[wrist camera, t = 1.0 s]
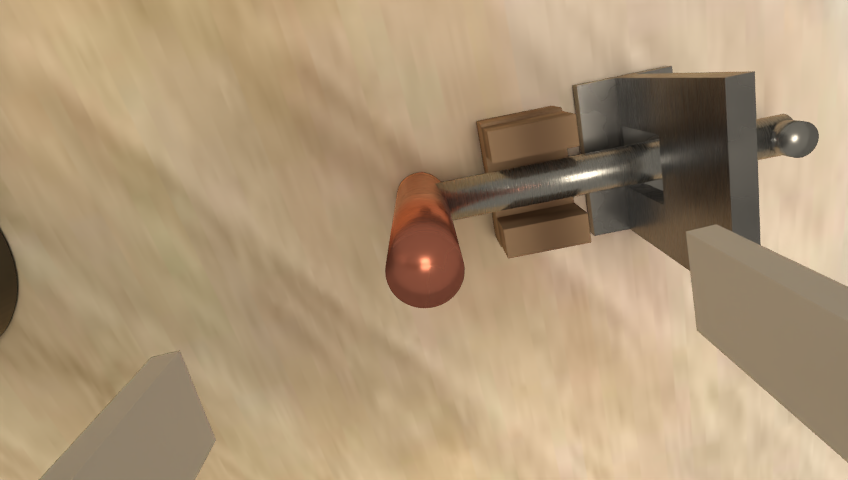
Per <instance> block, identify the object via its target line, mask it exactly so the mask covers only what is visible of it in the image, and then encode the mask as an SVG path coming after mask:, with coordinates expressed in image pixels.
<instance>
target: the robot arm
mask: <svg viewBox="0 0 848 480" xmlns="http://www.w3.org/2000/svg"><path fill="white" fill-rule="evenodd" d="M686 237H687V246H688V255H689V264H690V273H691V282H692V291H693V300H694V309H695V318H696V327H697V331H698V332H699V333H701V334H702V335H703V336H704V337H705V338H706V339H707V340H709V341H710V342H711V343H712V344H713V345H714V346H715V347H716V348H718V349H719V350H720V351H721V352H722V353H723V354H724V355H726V356H727V357H728V358H729V359H730V360H731V361H732V362H734V363H735V364H736V365H737V366H738V367H739V368H740V369H742V370H743V371H744V372H745V373H746V374H747V375H748V376H750V377H751V378H752V379H753V380H754V381H755V382H756V383H758V384H759V385H760V386H761V387H762V388H763V389H764V390H766V391H767V392H768V393H769V394H770V395H771V396H772V397H774V398H775V399H776V400H777V401H778V402H779V403H780V404H782V405H783V406H784V407H785V408H786V409H787V410H788V411H790V412H791V413H792V414H793V415H794V416H795V417H796V418H798V419H799V420H800V421H801V422H802V423H803V424H804V425H806V426H807V427H808V428H809V429H810V430H811V431H812V432H814V433H815V434H816V435H817V436H818V437H819V438H820V439H822V440H823V441H824V442H825V443H826V444H827V445H828V446H830V447H831V448H832V449H833V450H834V451H835V452H836V453H838V454H839V455H840V456H841V457H842V458H843V459H844V460H845V461H847V462H848V287H847V286H845V285H843V284H841V283H839V282H837V281H835V280H832V279H830V278H828V277H826V276H824V275H822V274H820V273H818V272H816V271H814V270H811V269H809V268H807V267H805V266H803V265H801V264H799V263H797V262H795V261H793V260H790V259H788V258H786V257H784V256H782V255H780V254H778V253H776V252H774V251H772V250H769V249H767V248H765V247H763V246H761V245H759V244H757V243H755V242H753V241H751V240H748V239H746V238H744V237H742V236H740V235H738V234H736V233H734V232H732V231H730V230H727V229H725V228H723V227H721V226H719V225H717V224H716V225H711V226H707V227H703V228H699V229H694V230H690V231H686ZM16 296H17V278H16V271H15V266H14V262H13V259H12V256H11V253H10V250H9V248H8V245H7V243H6V241H5V239H4V237H3V235H2V234H1V232H0V336H1V335H2V333H3V332H4V330H5V329H6V327H7V325H8V323H9V322H10V319H11V317H12V314H13V311H14V308H15V303H16ZM215 441H216V439H215V436H214V434H213V431H212V429H211V426H210V424H209V421H208V419H207V417H206V414H205V412H204V409H203V407H202V404H201V402H200V399H199V397H198V394H197V392H196V389H195V387H194V384H193V382H192V379H191V377H190V375H189V372H188V370H187V367H186V365H185V362H184V360H183V357H182V355H181V352H180V351H176V352H171V353H167V354H163V355H159V356H154V357H151V358H150V359H149V360H148V361H147V363H146V364H145V365H144V366H143V367H142V368H141V369H140V370H139V371H138V372H137V373H136V375H135V376H134V377H133V378H132V379H131V380H130V381H129V382H128V383H127V384H126V385H125V387H124V388H123V389H122V390H121V391H120V392H119V393H118V394H117V395H116V396H115V397H114V398H113V400H112V401H111V402H110V403H109V404H108V405H107V406H106V407H105V408H104V409H103V410H102V412H101V413H100V414H99V415H98V416H97V417H96V418H95V419H94V420H93V421H92V422H91V424H90V425H89V426H88V427H87V428H86V429H85V430H84V431H83V432H82V433H81V434H80V436H79V437H78V438H77V439H76V440H75V441H74V442H73V443H72V444H71V445H70V446H69V448H68V449H67V450H66V451H65V452H64V453H63V454H62V455H61V456H60V457H59V458H58V460H57V461H56V462H55V463H54V464H53V465H52V466H51V467H50V468H49V469H48V470H47V472H46V473H45V474H44V475H43V476H42V477H41V478H40V479H39V480H195V479H196V477H197V475H198V473H199V471H200V469H201V467H202V465H203V463H204V462H205V460H206V458H207V456H208V454H209V452H210V450H211V448H212V446H213V445H214V443H215Z"/></svg>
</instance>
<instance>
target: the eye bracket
mask: <svg viewBox="0 0 848 480" xmlns="http://www.w3.org/2000/svg"><path fill="white" fill-rule="evenodd" d="M573 93H574V101H575V110H576V118H577V126H578V135H579V143H580V151H581V154H585V153H590V152H595V151H600V150H605V149H610V148H615V147H620V146H625V145H630V144H635V143H640V142H645V141H650V140H655V139H659V146H660V158H661V170H662V179H660V180H654V181H649V182H644V183H639V184H634V185H629V186H624V187H619V188H614V189H609V190H604V191H599V192H594V193H589V194H586V201H587V209H588V217H589V225H590V232H591V233H592V234H593V235H594V236H596V235H601V234H606V233H611V232H616V231H622V230H627V229H631V230H632V231H634V232H635V233H637V234H638V235H639V236H641V237H642V238H644V239H645V240H647V241H648V242H649V243H651V244H652V245H654V246H655V247H657V248H658V249H659V250H661V251H662V252H664V253H665V254H667V255H668V256H669V257H671V258H672V259H674V260H675V261H677V262H678V263H679V264H681V265H682V266H684V267H685V268H687V269H688V270H689V271H690V264H689V255H688V246H687V237H686V231H690V230H694V229H699V228H703V227H707V226H711V225H716V224H717V225H719V226H721V227H723V228H725V229H727V230H730V231H732V232H734V233H736V234H738V235H740V236H742V237H744V238H746V239H748V240H751V241H753V242H755V243H757V244H759V245H760V217H759V187H758V157H757V127H756V97H755V71H754V72H707V73H673V72H672V66H666V67H660V68H656V69H651V70H646V71H641V72H636V73H631V74H626V75H621V76H617V77H612V78H607V79H602V80H597V81H592V82H587V83H582V84H578V85H573Z"/></svg>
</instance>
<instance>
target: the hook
mask: <svg viewBox="0 0 848 480" xmlns="http://www.w3.org/2000/svg"><path fill="white" fill-rule="evenodd" d="M756 127H757V157H758V160H761V159H766V158H771V157H776V156H781V155H784V156H789V157H794V158H800V157H804V156H806V155H808V154H809V153H811V152H812V151H813V150H814V148H815V147H816V145H817V143H818V138H819V134H818V130H817V128H816V127H815V126H814V125H813V124H812V123H809V122H804V121H795V120H793V119H792V118H791V117H790V116H788V115H786V114H780V115H775V116H770V117H765V118H760V119H756ZM660 179H662V170H661V158H660V146H659V139H655V140H650V141H645V142H640V143H635V144H630V145H625V146H620V147H615V148H610V149H605V150H600V151H595V152H590V153H585V154H580V155H575V156H570V157H565V158H560V159H555V160H550V161H545V162H540V163H535V164H530V165H525V166H520V167H515V168H510V169H505V170H500V171H495V172H490V173H485V174H480V175H475V176H470V177H465V178H460V179H455V180H450V181H445V182H440V181H439V180H438V179H437V178H436V177H435V176H433V175H431V174H428V173H423V172H419V173H414V174H411V175H409V176H408V177H406V178H405V179H404V180H403V181H402V182H401V184H400V186H399V188H398V191H397V197H396V203H395V210H394V216H393V223H392V229H391V235H390V242H389V248H388V255H387V261H386V269H385V273H386V280H387V283H388V285H389V287H390V289H391V291H392V292H393V293H394V295H395V296H396V297H397V298H398V299H400V300H401V301H402V302H404V303H406V304H408V305H411V306H414V307H418V308H431V307H436V306H439V305H442V304H444V303H445V302H447V301H449V300H450V299H451V298H452V297H453V296H454V295H455V294H456V293H457V292H458V290H459V289H460V287H461V285H462V282H463V279H464V270H465V268H464V262H463V258H462V255H461V251H460V247H459V243H458V239H457V236H456V232H455V228H454V224H453V220H457V219H462V218H467V217H472V216H477V215H482V214H487V213H492V212H497V211H502V210H507V209H512V208H518V207H523V206H528V205H533V204H538V203H543V202H548V201H553V200H558V199H563V198H568V197H573V196H578V195H583V194H589V193H594V192H599V191H604V190H609V189H614V188H619V187H624V186H629V185H634V184H639V183H644V182H649V181H654V180H660Z"/></svg>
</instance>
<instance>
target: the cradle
mask: <svg viewBox="0 0 848 480" xmlns="http://www.w3.org/2000/svg"><path fill="white" fill-rule="evenodd" d="M476 123H477V129H478V135H479V141H480V146H481V152H482V158H483V164H484V170H485V173H490V172H495V171H500V170H505V169H510V168H515V167H520V166H525V165H530V164H535V163H540V162H545V161H550V160H555V159H560V158H565V157H568V153H567V148H572V147H577V146H579V137H578V129H577V121H576V114H573V113H568V112H564V111H562V108H560V107H555V106H548V107H543V108H538V109H534V110H529V111H524V112H519V113H514V114H509V115H504V116H499V117H494V118H489V119H485V120H480V121H476ZM492 217H493V223H494V229H495V234H496V238H497V240H498V242H499V243H500V245H501V247H503V249H504V251H505V253H506V255H507V257H508V258H513V257H518V256H523V255H529V254H534V253H539V252H544V251H549V250H554V249H560V248H565V247H570V246H575V245H580V244H585V243H591V236H590V228H589V220H588V213H586V212H585V211H584V210H583V209H581V208H580V207H579V206H578V205H576V204H575V203H574V200H573V197H568V198H563V199H558V200H553V201H548V202H543V203H538V204H533V205H528V206H523V207H518V208H512V209H507V210H502V211H497V212H492Z"/></svg>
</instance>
